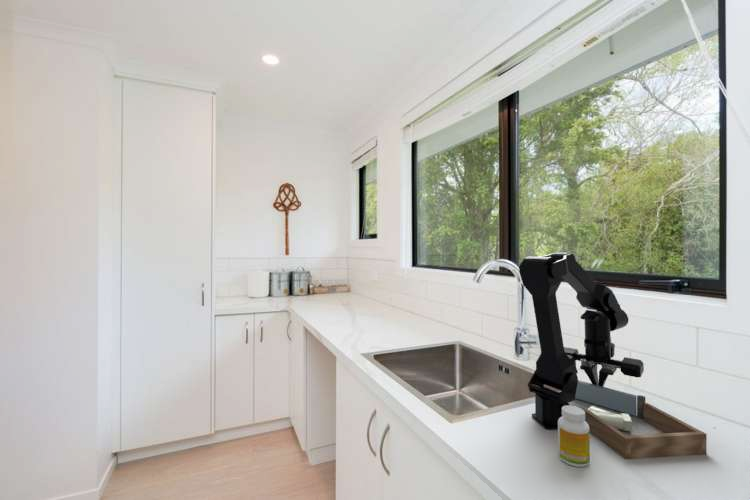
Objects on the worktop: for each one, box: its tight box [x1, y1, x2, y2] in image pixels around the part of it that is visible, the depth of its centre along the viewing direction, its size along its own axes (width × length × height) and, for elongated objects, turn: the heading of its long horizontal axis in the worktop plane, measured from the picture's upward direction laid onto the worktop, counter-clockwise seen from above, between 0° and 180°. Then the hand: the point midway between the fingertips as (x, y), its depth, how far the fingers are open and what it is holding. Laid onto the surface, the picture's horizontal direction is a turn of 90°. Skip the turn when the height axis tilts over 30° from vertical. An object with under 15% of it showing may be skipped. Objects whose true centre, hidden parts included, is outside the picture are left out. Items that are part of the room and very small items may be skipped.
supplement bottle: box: [557, 404, 591, 468], centre depth 68 cm, size 5×5×10 cm
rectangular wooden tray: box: [578, 394, 707, 460], centre depth 77 cm, size 17×16×5 cm
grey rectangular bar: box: [575, 379, 638, 417], centre depth 91 cm, size 15×2×4 cm, turn 41°
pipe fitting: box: [587, 405, 633, 433], centre depth 81 cm, size 8×4×7 cm
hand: (598, 392), depth 93 cm, fingers closed
